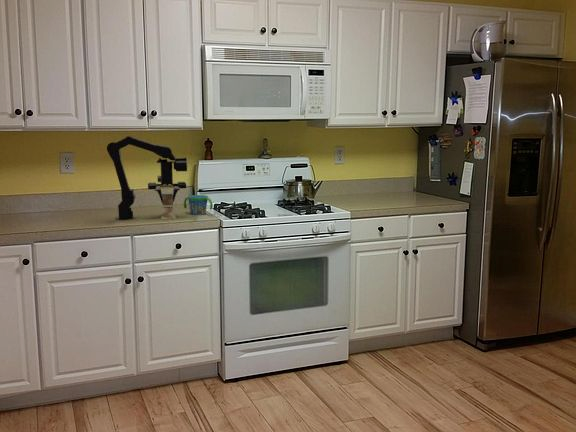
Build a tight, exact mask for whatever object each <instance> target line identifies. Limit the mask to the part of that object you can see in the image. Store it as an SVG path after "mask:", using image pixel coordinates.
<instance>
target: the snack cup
mask: <svg viewBox="0 0 576 432" xmlns="http://www.w3.org/2000/svg"><path fill="white" fill-rule="evenodd" d="M187 201H188V205H189V210H190V215H195V216H196V215H197V216H198V215H205V214H206V212H207V205H208V202H209V210H210V211H211V210H213V202H212V199H211V198H210V197H209V196H208V195H205V194H198V195H197V194H194V195H193V194H192V195H188V196H187V197H185V198H184V201H183V208H184V209H187V207H188V206H187Z"/></svg>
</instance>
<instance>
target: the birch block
mask: <svg viewBox="0 0 576 432" xmlns="http://www.w3.org/2000/svg"><path fill="white" fill-rule="evenodd" d="M162 216H163V218H169V219H175V218H174V216H175V214H174V207H173V206H163V207H162Z"/></svg>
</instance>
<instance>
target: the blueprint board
mask: <svg viewBox="0 0 576 432" xmlns="http://www.w3.org/2000/svg"><path fill="white" fill-rule="evenodd" d="M160 217H161V220H166V219H170V218H163V215H162V216H160ZM173 219H177V218H176V215H174V218H173Z"/></svg>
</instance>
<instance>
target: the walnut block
mask: <svg viewBox="0 0 576 432" xmlns="http://www.w3.org/2000/svg"><path fill="white" fill-rule="evenodd" d="M162 199H163V203H162V202H161V203H162V206H173V205H174V202H173V193H162Z"/></svg>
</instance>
